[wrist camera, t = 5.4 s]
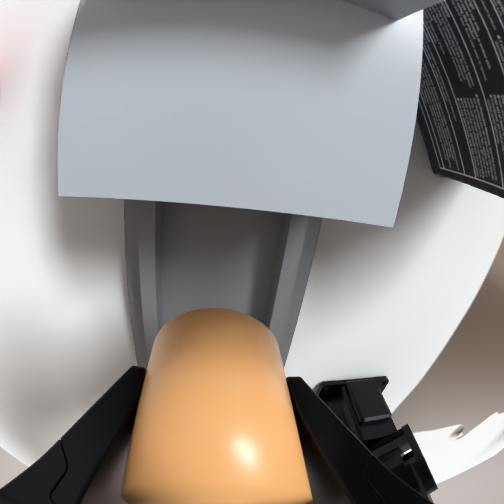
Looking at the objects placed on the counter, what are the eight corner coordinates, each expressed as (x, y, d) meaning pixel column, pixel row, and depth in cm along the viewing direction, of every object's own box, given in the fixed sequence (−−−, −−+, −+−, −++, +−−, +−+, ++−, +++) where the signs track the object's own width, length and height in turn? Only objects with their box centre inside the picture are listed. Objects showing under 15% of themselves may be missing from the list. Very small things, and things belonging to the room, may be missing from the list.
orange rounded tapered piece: (291, 312, 8) (341, 474, 4) (268, 398, 10) (288, 523, 5) (148, 301, 8) (97, 466, 3) (157, 391, 9) (139, 517, 5)
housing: (277, 374, 21) (290, 441, 15) (142, 364, 19) (125, 431, 14) (349, -40, 9) (395, -86, 4) (174, -63, 8) (157, -121, 3)
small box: (490, 146, 15) (606, 187, 5) (431, 177, 15) (568, 243, 6) (439, 5, 10) (558, -24, 1) (367, 15, 11) (499, -50, 2)
